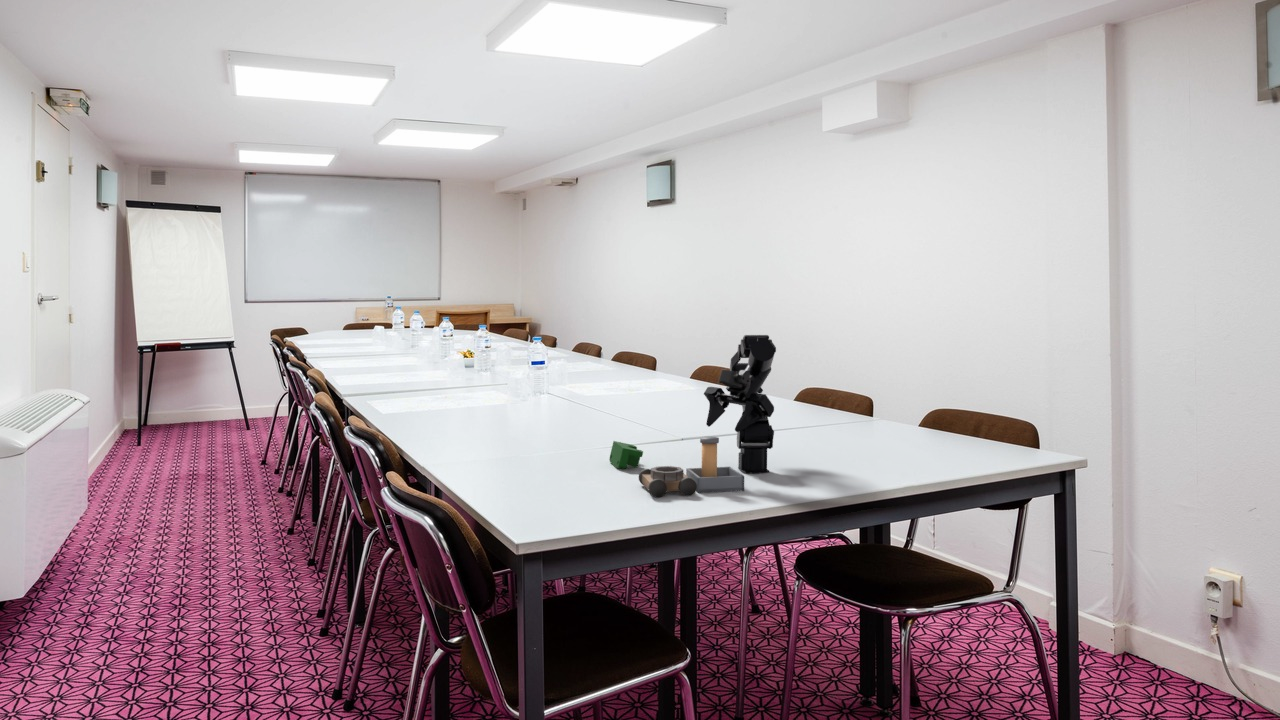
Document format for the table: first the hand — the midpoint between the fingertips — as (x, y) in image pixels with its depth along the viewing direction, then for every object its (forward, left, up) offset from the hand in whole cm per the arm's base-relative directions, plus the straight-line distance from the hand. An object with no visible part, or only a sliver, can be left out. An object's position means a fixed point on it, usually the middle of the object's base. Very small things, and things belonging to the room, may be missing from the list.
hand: (721, 428), depth 198 cm
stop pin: (+4, +3, -13) cm, 14 cm away
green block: (+18, -26, -14) cm, 35 cm away
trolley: (+14, +4, -14) cm, 20 cm away
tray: (+2, +3, -14) cm, 14 cm away
